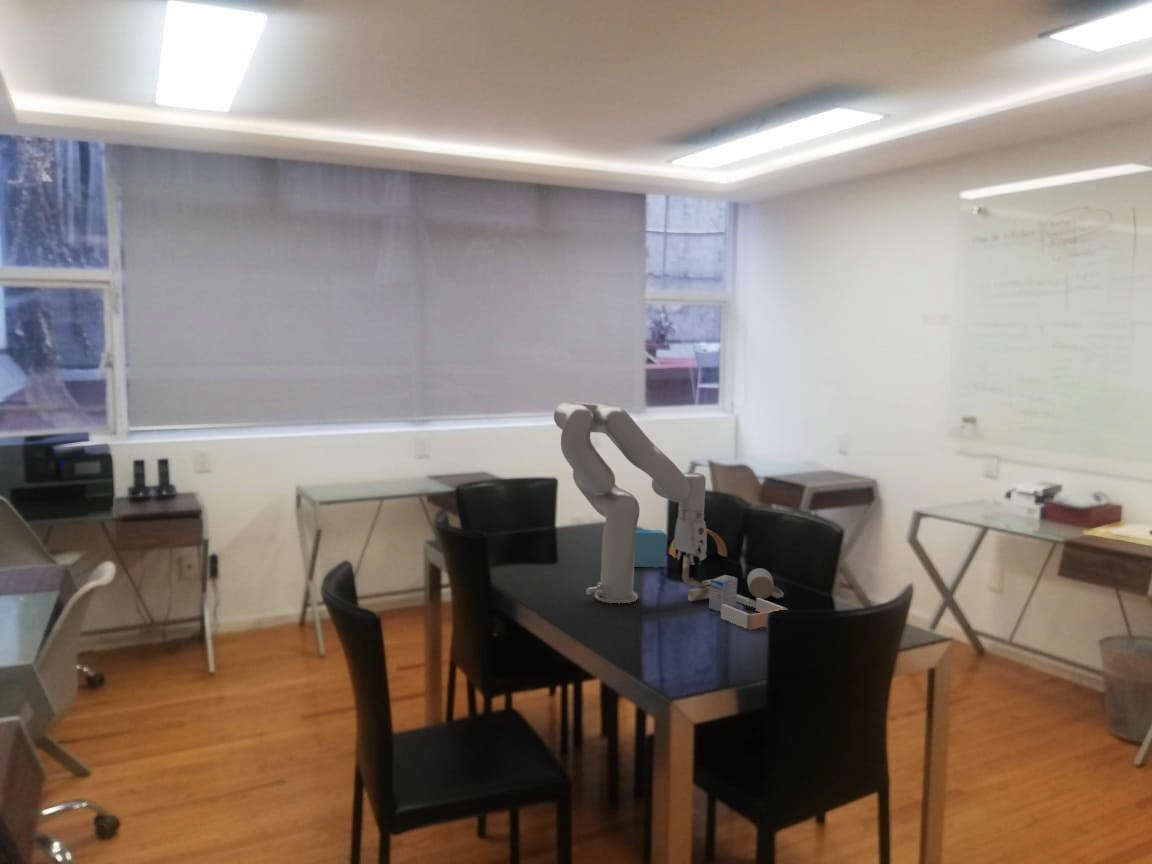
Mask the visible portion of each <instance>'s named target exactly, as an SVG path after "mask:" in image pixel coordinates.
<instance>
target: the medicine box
mask: <svg viewBox="0 0 1152 864" xmlns="http://www.w3.org/2000/svg"><path fill="white" fill-rule="evenodd" d="M710 580H711V583H710V598H708V599H709V603H708V609H709V608H711V609H713V610H717V611H720V612H719V613H721V605H722V604H726V605H728V606H731V607H733V608H736V605H737V602H736V595H737V594H738V593H737V592H738V577H735V576H731V575H727V574H723V575H720V576H718V577H716V578H713V579H712V578H711V579H710ZM713 610H712V611H713ZM717 611H716V612H717Z"/></svg>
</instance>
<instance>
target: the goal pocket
mask: <svg viewBox="0 0 1152 864" xmlns="http://www.w3.org/2000/svg"><path fill="white" fill-rule="evenodd" d="M755 598H756V597H755ZM755 601H756V609H755V611H758V612H760V613H756V612H755V613H748V612H745V611H743V610H740V609H737V608H736V607H731V606H728V605H726V604H722V605H721V612H720V619H721V618H722V619H721V620H723V619H724V620H723V621H725V620H727V621H729V622H728V623H730V622H731V623H730V624H732V623H733V624H732V625H734V624H736V625H735V626H737V625H738V626H737V627H739V626H741V627H744V628H747V629H753V628H757V627H762V626H764V625H765V626H766V621H767V616H768V614H769V613H771V612H773V611H779V610H788V611H789V608H787V607H785V606H781V605H779V604H777V603H774V602H771V601H768V600H765V599H761V598H756V599H755ZM727 621H726V622H727ZM741 627H740V628H741ZM744 628H743V629H744Z"/></svg>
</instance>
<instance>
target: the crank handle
mask: <svg viewBox="0 0 1152 864" xmlns="http://www.w3.org/2000/svg"><path fill="white" fill-rule="evenodd" d="M689 564H691V559H690V554H687V555H683V573H681V575H682V576H681V578H682V581H683V582H684V583H685V584H688V585H691V586H693V587H696V588H692V589H691V588H690V589H688V591H687V594H688V596H687V601H690V602H693V601H698V600H700V601H701V600H704V599H710V586H708V585H710V583H711V580H712V579H705V580H702V581H701V582H700V581H697V580H695V579H694V578H689Z"/></svg>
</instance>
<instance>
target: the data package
mask: <svg viewBox="0 0 1152 864" xmlns="http://www.w3.org/2000/svg"><path fill="white" fill-rule="evenodd" d="M667 539H668V538H667V535H666V533H665V532H664V531H663V530H661V529H636V538H635V561H634V567H637V566H639V567H663V568H664V567H666V562H667V557H666V556H667Z"/></svg>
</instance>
